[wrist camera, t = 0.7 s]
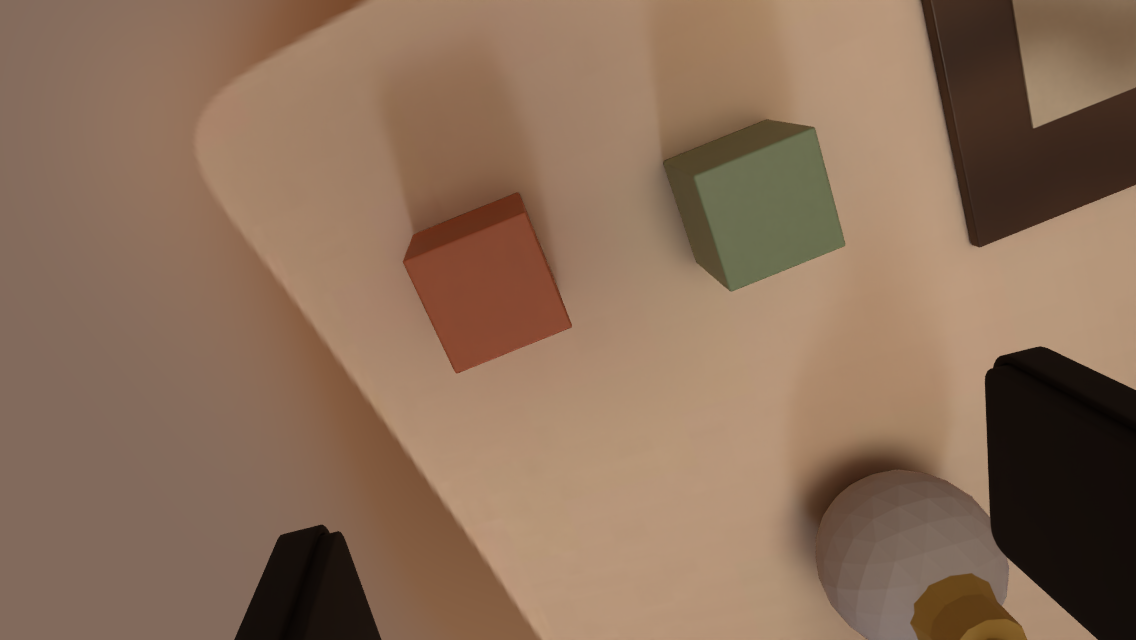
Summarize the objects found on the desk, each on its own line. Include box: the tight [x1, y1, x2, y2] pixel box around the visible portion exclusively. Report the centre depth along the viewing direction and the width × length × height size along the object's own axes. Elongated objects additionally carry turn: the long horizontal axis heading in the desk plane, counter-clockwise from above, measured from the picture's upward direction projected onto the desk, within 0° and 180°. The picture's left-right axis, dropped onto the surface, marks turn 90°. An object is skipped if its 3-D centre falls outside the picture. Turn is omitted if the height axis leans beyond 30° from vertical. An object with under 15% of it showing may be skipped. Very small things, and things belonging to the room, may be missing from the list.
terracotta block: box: [403, 193, 572, 373], centre depth 28 cm, size 4×4×4 cm
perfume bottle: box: [816, 470, 1027, 640], centre depth 30 cm, size 8×10×12 cm
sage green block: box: [663, 120, 845, 291], centre depth 28 cm, size 4×4×4 cm
